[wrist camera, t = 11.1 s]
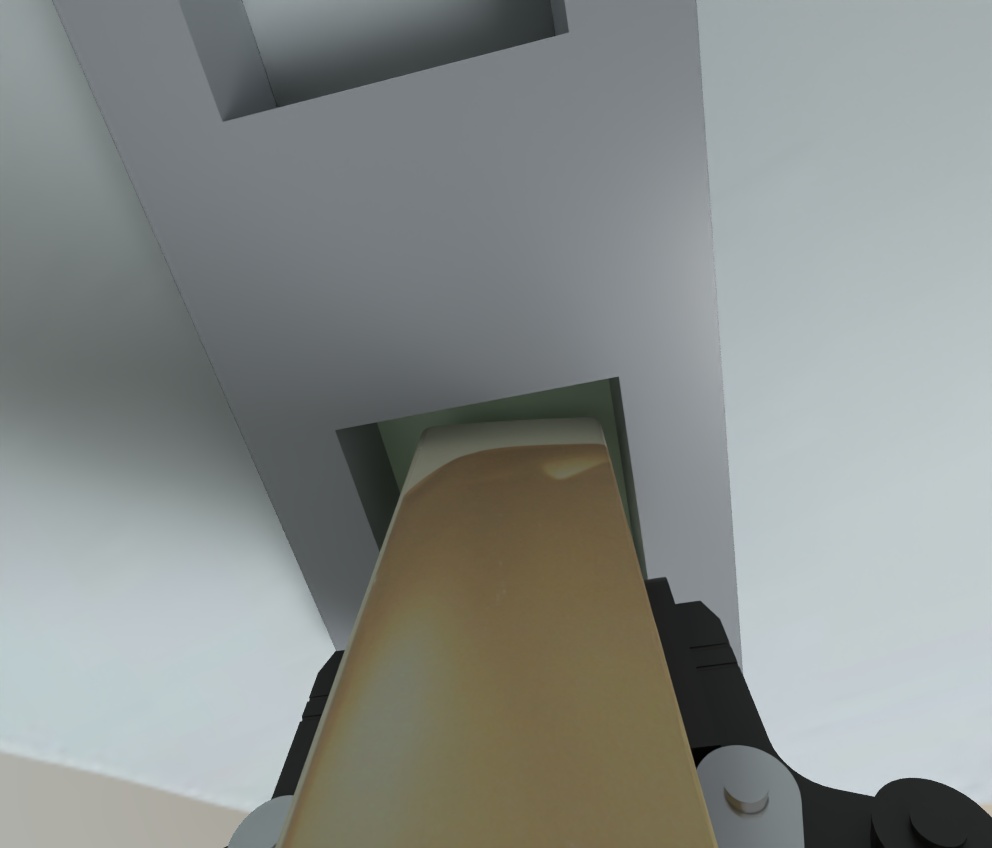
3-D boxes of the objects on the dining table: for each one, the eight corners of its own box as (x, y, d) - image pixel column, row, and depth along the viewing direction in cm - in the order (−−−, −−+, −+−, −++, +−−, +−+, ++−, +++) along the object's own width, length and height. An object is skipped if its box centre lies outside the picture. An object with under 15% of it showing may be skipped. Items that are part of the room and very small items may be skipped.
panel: (588, -713, 9) (621, -1096, 6) (710, 603, 19) (743, 684, 16) (-38, -462, 10) (-247, -684, 7) (391, 648, 20) (371, 730, 17)
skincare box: (608, 615, 17) (775, 1527, 6) (450, 623, 17) (328, 1504, 6) (602, 399, 14) (893, 1341, 3) (415, 413, 15) (86, 1317, 3)
